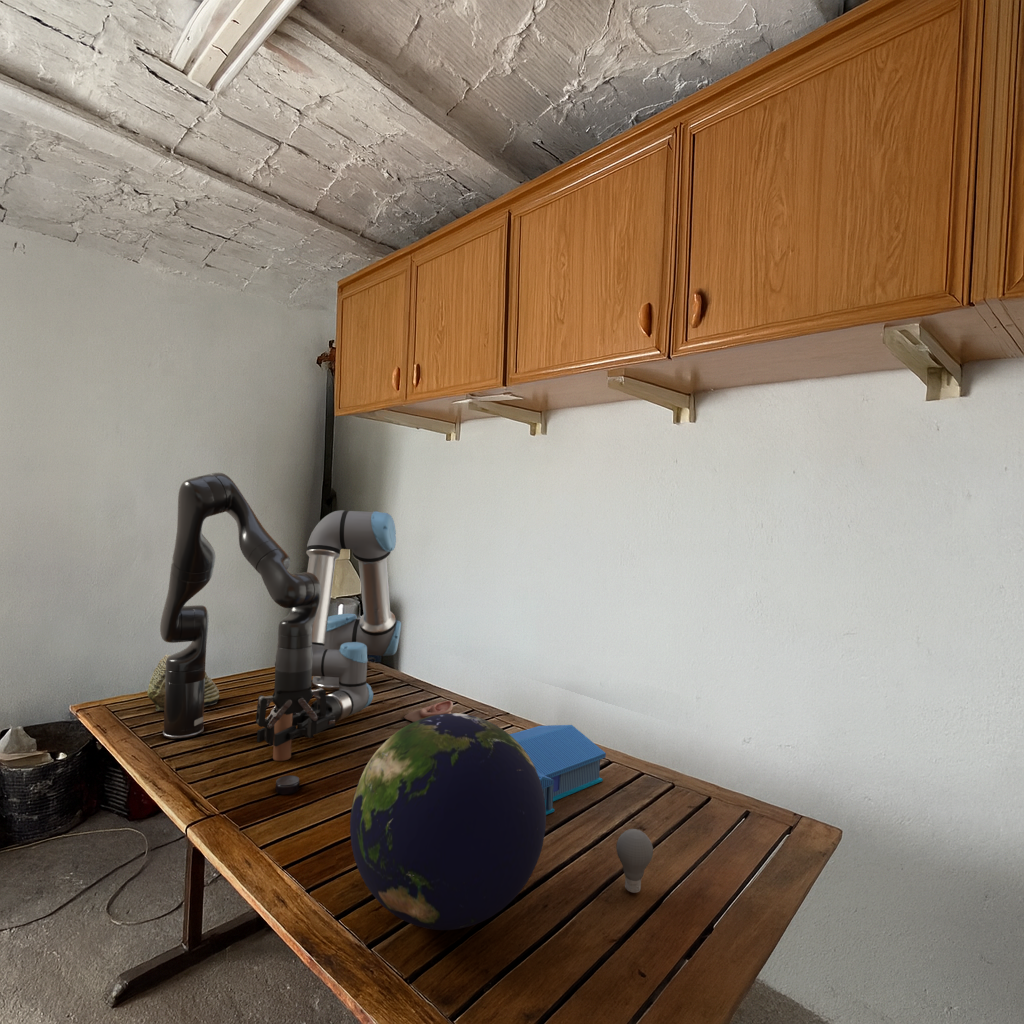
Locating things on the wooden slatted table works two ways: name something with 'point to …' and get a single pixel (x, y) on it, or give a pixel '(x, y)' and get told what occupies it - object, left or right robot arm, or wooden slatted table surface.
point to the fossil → (158, 687)
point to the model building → (561, 760)
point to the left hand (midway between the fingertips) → (290, 740)
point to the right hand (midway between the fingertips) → (267, 738)
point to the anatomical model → (430, 711)
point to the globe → (448, 821)
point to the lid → (287, 785)
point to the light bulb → (634, 857)
